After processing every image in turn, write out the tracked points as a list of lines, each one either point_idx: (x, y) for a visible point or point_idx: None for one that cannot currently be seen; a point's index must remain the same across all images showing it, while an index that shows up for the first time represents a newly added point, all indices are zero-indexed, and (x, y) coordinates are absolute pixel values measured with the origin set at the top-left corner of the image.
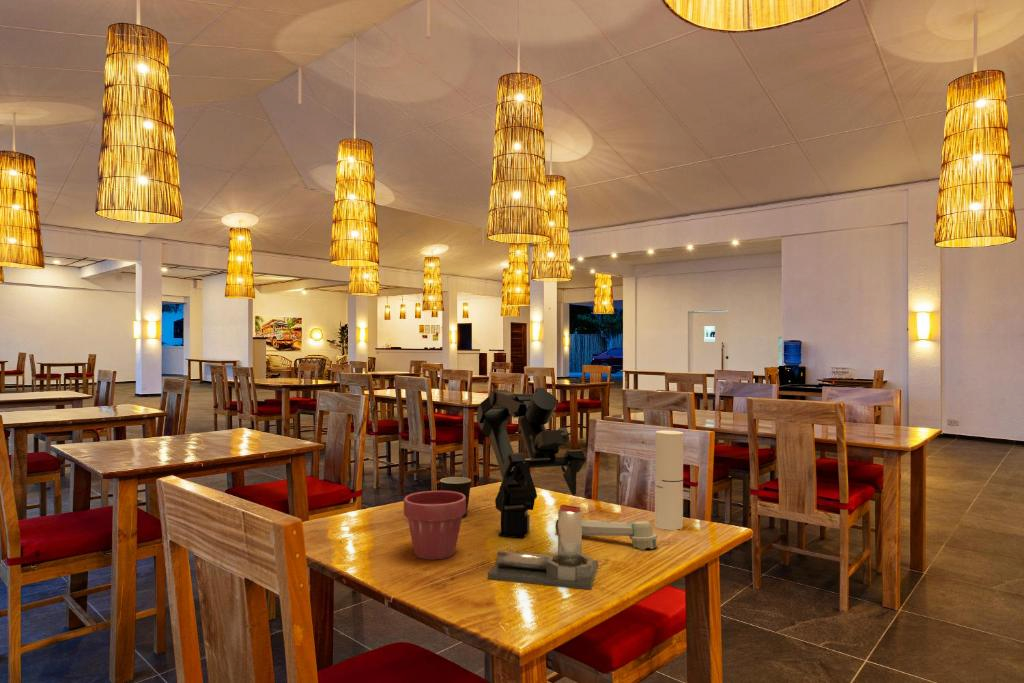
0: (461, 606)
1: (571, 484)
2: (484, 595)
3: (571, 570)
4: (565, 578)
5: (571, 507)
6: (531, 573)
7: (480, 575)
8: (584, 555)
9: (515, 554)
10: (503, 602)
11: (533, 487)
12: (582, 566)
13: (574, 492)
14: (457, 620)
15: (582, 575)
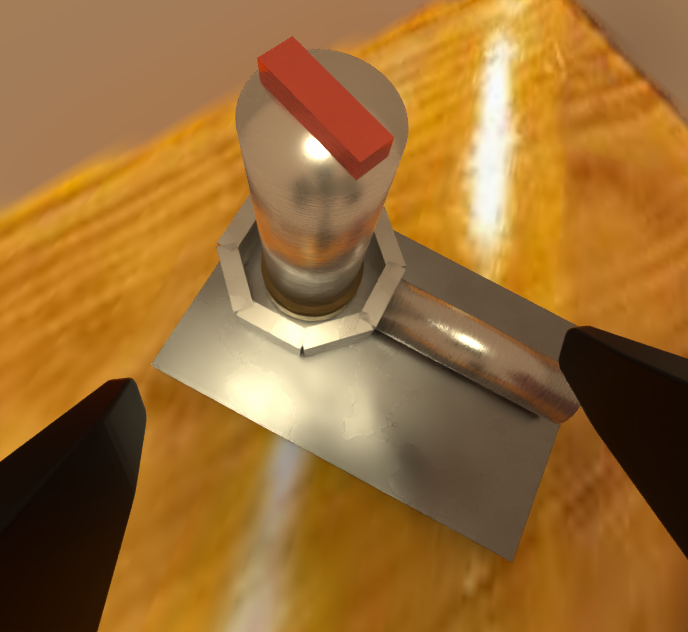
0: (650, 173)
1: (83, 488)
2: (592, 221)
3: None
4: None
5: (324, 74)
6: (447, 294)
7: None
8: (232, 291)
9: (519, 346)
10: (545, 168)
11: (667, 363)
12: None
13: (128, 380)
14: (656, 109)
15: None
